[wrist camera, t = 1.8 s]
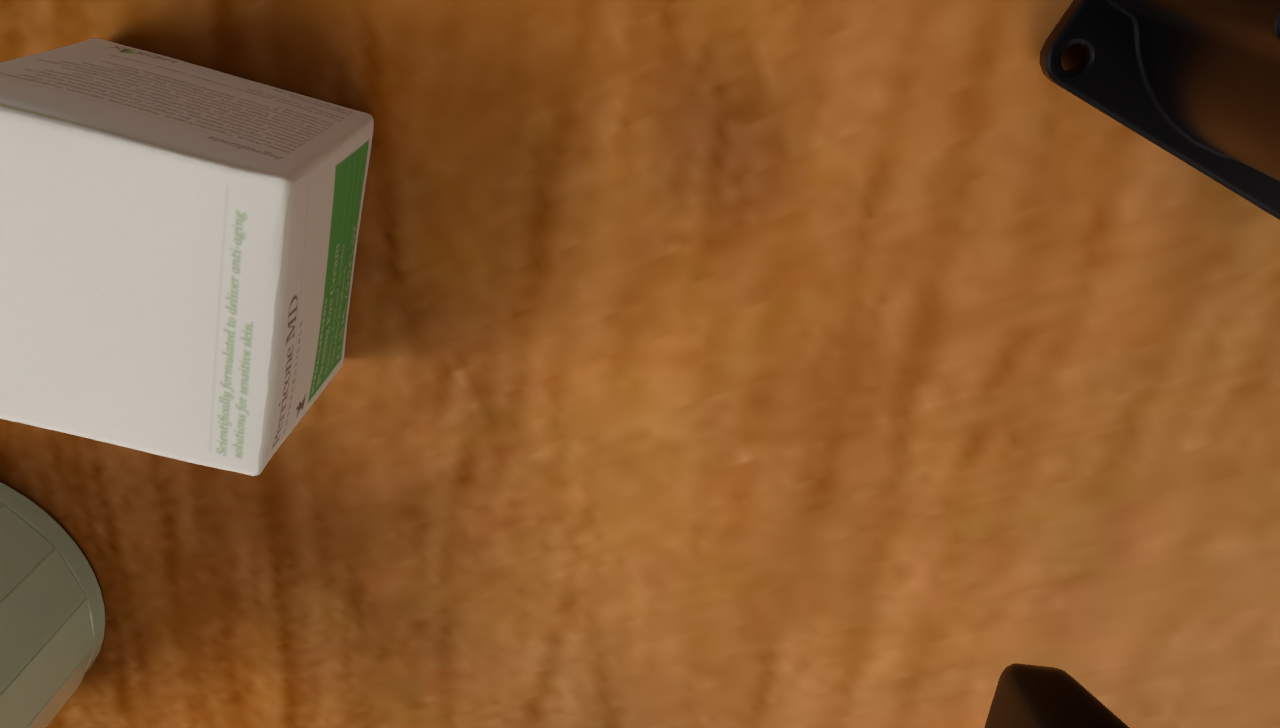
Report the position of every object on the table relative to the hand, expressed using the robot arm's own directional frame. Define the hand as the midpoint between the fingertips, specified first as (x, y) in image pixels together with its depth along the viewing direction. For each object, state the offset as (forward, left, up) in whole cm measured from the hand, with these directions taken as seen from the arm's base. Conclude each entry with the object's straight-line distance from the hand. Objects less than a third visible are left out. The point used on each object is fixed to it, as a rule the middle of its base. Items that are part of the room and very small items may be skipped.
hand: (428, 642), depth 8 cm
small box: (+6, +4, -13) cm, 15 cm away
